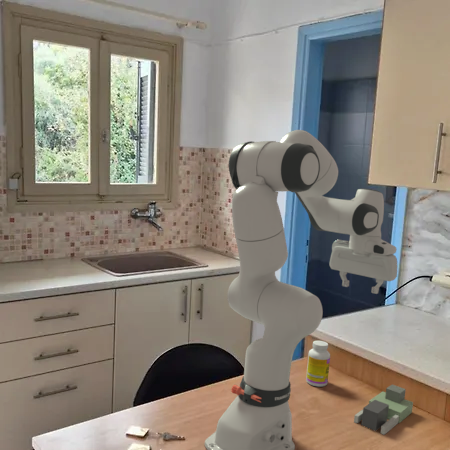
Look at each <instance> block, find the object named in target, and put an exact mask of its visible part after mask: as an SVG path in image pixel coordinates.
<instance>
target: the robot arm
mask: <svg viewBox="0 0 450 450" xmlns="http://www.w3.org/2000/svg"><path fill="white" fill-rule="evenodd" d="M228 171H229V177H230V178H231V182H232V185H233V187H234V188H235V191H233V194H232V198H231V215H232V216H231V217H232V225H233V231H234V236H235V237H234V238H235V241H236V242H235V243H236V248H237V252H238V257H239V273H238V276H236V277H235V278H234V279H233V280H232V281H231V283H230V284H229V287H228V289H227V294H226V295H227V299H226V300H227V303H228V306H229V308H230V309H231V310H233V311H234V312H235V313H237V314H238V315H240V316H241V317H243V318H244V319H247V320H250V321H252V322H254V323H257V324H260V325H263V327H264V331H263V335H262V338H258V339H256V340H254V341H252V342H251V343H249V345H248V346H247V348H246V351H245V356H244V357H245V359H244V371H243V376H242V377H241V378H242V379H241V381H240V382H239V386H238V385H237V384H233V385H232V387H231V389H230V390H231V391H230V392H231V393H232V394H235V395H237V396H236V397H235V398H234V400H233V401H232V402H231V404H230V405H229V406H228V407H227V409H226V410H225V411H224V412H223V414H222V415H221V416H220V418H219V419H218V421H217V425H216V429H215V431H214V432H213V433H212V434H211V435H209V436H208V437H206V439H205V440H204V446H205V448H206V450H295V449H296V445H295V443H294V442H293V439H292V438H293V437H292V435H293V433H292V432H293V431H292V430H293V428H292V427H293V425H292V419H293V417H292V416H293V415H292V411H291V409H290V403H289V400H290V396H291V390H292V388H291V385H292V384H291V381H290V375H291V367H292V362H293V356H294V352H295V350H296V348H297V346H298V345H299V343H301V341H302V340H303V339H305V338H306V337H308V336H310V335H312V334H313V333H314V332H315V331H316V330H317V329H318V328H319V326H320V324H321V322H322V320H323V312H324V311H323V305H322V302H321V300H320V298H319V297H318V296H317V295H315V294H313V293H312V292H310V291H308V290H306V289H304V288H303V287H299V286H296V285H293V284H290V283H285V282H282V281H280V280H278V278H277V276H276V272H278V271H279V270H280V269H281V268H283V267H284V265H285V264H286V262H287V260H288V255H289V252H288V251H289V250H288V246H287V240H286V234H285V229H284V223H283V217H282V213H281V210H280V207H279V203H278V195H279V192H290V193H294V194H295V195H296V197H297V199H298V200H299V202H300V204H301V205H302V207H303V208H304V210H305V211H306V213H307V216H308V218H309V219H308V220H309V222H310V224H311V225H312V227H313V229H315V230H316V231H319V232H332V233H337V234H343V235H349V240H342V239H337V240H335V241H333V243H332V245H331V254H330V258H329V263H328V264H329V267H330V269H331V270H334V271H339V276H340V279H341V280H342V283H341V286H342V287H345V288H348V287H350V280H348V278H347V274H353V275H358V276H362V277H367V278H372V279H375V283H376V285H375V286H371V292H370V293H372V294H376V295H377V294H379V291H380V287H382V285H383V283H384V281H386V282H392V281H394V280H395V279H397V277H398V276H397V275H398V258H397V257H396V255H395V254H396V253H397V247H396V246H395V245H393V244H391V243H389V242H387V241H385V240H384V239H382V231H381V230H382V229H381V228H382V224H383V222H384V213H385V209H384V208H385V202H384V201H385V199H384V194H383V193H382V192H381V191H379V190H376V189H372V188H358V189H357V190H356V193H355V197H353V198H351V199H341V198H340V199H339V198H335V197H329V196H324V195H326V194H327V193H328V192H330V191H331V190H332V189H333V187H334V186H335V185H336V184H337V180H338V176H339V168H338V165H337V162H336V160H335V159H334V157H333V156H332V155H331V153H330V151H329V150H328V149H327V148H326V147H325V146H324V145H323V144H322V143H321V142H320V141H319V140H318V138H316V137H315V136H314V135H313V134H311V133H310V132H308V131H306V130H302V129H295V130H292V131H289V132H288V133H286V134H285V135H283V137H282V138H281V139H280V140H279V142H278V141H276V140H264V141H263V140H262V141H247V142H242V143H239V144H237V145H236V146H234V147H233V149H232V151H231V153H230V156H229V159H228Z"/></svg>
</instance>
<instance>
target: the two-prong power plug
mask: <svg viewBox="0 0 450 450" xmlns="http://www.w3.org/2000/svg"><path fill="white" fill-rule="evenodd" d="M405 396H406V388H403V387H400V386H398V385H396V384H390V385H389V386H387V387H386V390H385V391H381V392H380V393H378V394H377V395H375V396H373V397H372V398H371V399H369V400H368V404H369V403H371V402H372V401H374V400H377V401H380V402H382V403H385V404H388V405H389V409H388V417H387V422H386V423H385V424H383V425H382V426H381V427H380V434H381V435H384V436H385V435H386V434H387V433H388V432H390V431H391V430H392V429H393V428H394V427H395V426H396V425H398V424H400V423H401V422H403V421H404V420H405V419H406V418H408V417H409V415H411V414H412V413H413V408H414V407H413V405H414V402H413V401H411V400H407V399H405V398H406V397H405ZM362 416H363V409H361V410H360V411H359V412H357V413H355V414H354V418H353V419H354V420H353V423H355V424H357V423H358V424H359V423H360V422H362V421H361V420H362Z"/></svg>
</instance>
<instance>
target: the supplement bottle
mask: <svg viewBox="0 0 450 450" xmlns="http://www.w3.org/2000/svg"><path fill="white" fill-rule="evenodd" d="M328 348H329V343H328V342H326V341H325V340H314V341H313V342H312V348H311V349H309V351H308V353H307V354H308V356H307V357H308V358H307V367H306V377H305V381H306V383H307V384H308V385H310V386H312V387H325V386H327V385H328V381H329V371H330V364H331V363H330V362H331V353H330V351H329V350H328Z"/></svg>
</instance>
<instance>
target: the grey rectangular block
mask: <svg viewBox="0 0 450 450" xmlns="http://www.w3.org/2000/svg"><path fill="white" fill-rule="evenodd" d="M388 409H389V405H388V404H385V403H382V402H380V401H377V400H374V401H372V402H371V403H369V402H368V404H367V405H366V406H364V407H363V408H362V410H363V416H362V421H361V426H362V425H363V426H362V427H364V426H365V427H364V428H366V427H367V428H366V429H369V428H370V430H371V429H372V431H374V432H377V431H378V430H379V429H381V426H382V425H383V424H385V423H386V422H387V421H388V419H387V417H388ZM376 430H377V431H376Z"/></svg>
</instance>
